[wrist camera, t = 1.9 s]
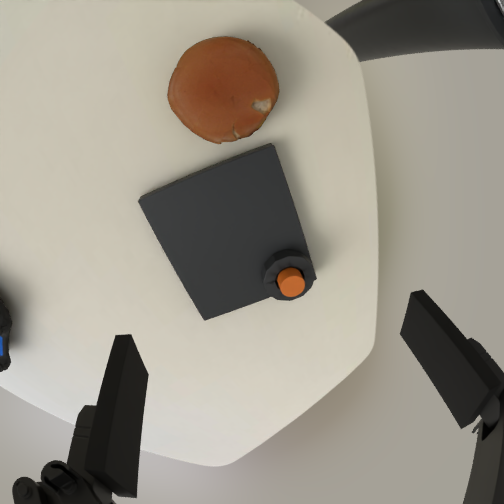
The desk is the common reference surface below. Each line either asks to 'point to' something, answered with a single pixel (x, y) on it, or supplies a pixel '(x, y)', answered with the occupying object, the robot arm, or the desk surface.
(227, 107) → the burger
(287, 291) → the button
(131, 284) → the desk surface
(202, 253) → the scale
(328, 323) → the desk surface
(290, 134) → the desk surface
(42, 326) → the desk surface
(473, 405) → the robot arm
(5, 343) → the gaming controller
